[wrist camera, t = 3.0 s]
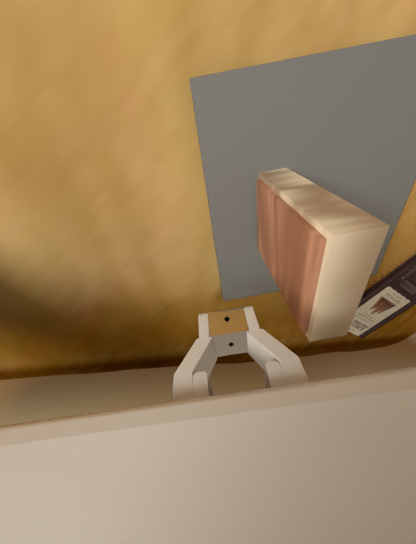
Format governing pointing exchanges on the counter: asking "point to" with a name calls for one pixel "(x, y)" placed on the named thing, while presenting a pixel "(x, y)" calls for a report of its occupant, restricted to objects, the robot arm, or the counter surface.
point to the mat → (306, 142)
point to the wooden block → (316, 250)
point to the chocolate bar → (386, 299)
